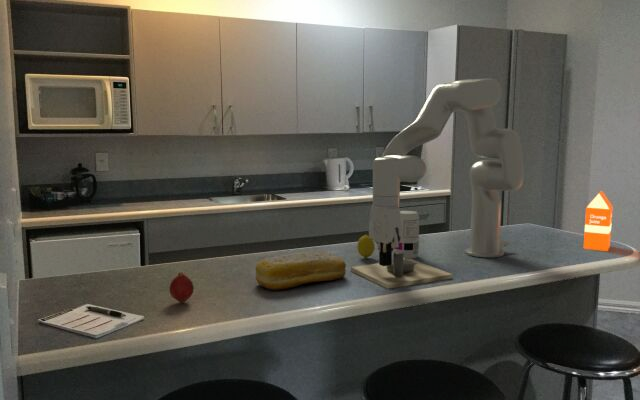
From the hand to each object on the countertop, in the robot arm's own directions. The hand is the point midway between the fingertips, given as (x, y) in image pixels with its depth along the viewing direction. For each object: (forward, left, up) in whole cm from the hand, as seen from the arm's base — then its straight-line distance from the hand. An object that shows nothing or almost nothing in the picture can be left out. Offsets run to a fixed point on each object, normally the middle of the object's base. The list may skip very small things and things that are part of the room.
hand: (385, 264), depth 158 cm
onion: (+57, -6, -4) cm, 57 cm away
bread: (+22, -9, -5) cm, 25 cm away
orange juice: (-88, +1, -4) cm, 89 cm away
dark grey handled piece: (-7, -3, -2) cm, 8 cm away
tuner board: (-6, -2, -4) cm, 8 cm away
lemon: (-7, -23, -4) cm, 24 cm away
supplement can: (-20, -19, -4) cm, 28 cm away
